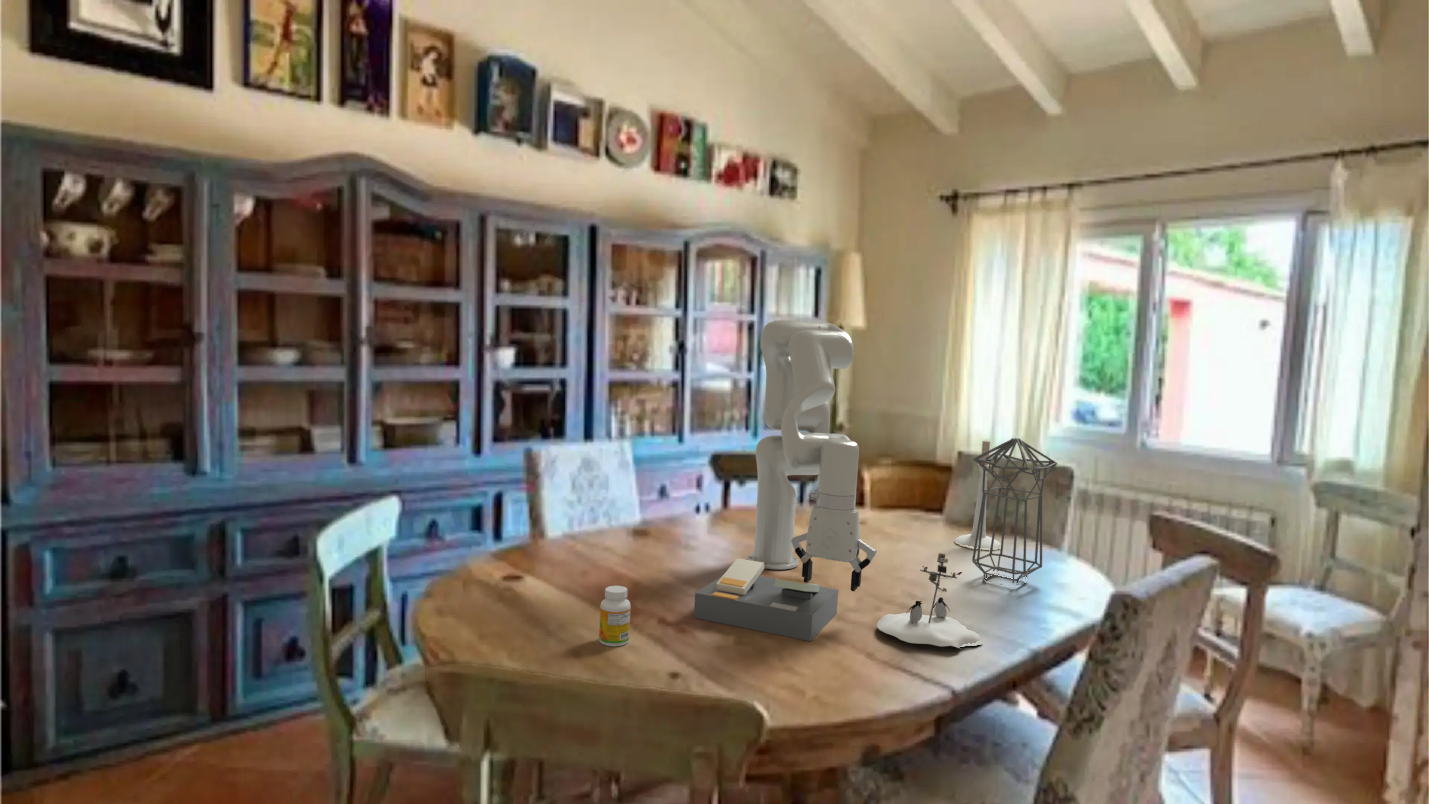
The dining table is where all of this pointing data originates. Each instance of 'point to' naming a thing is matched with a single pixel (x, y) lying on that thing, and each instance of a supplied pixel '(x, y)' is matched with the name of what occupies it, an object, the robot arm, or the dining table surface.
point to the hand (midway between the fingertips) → (830, 585)
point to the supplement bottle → (615, 617)
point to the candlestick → (971, 538)
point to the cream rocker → (740, 576)
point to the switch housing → (769, 608)
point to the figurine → (929, 620)
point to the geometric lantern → (1052, 464)
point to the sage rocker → (796, 585)
